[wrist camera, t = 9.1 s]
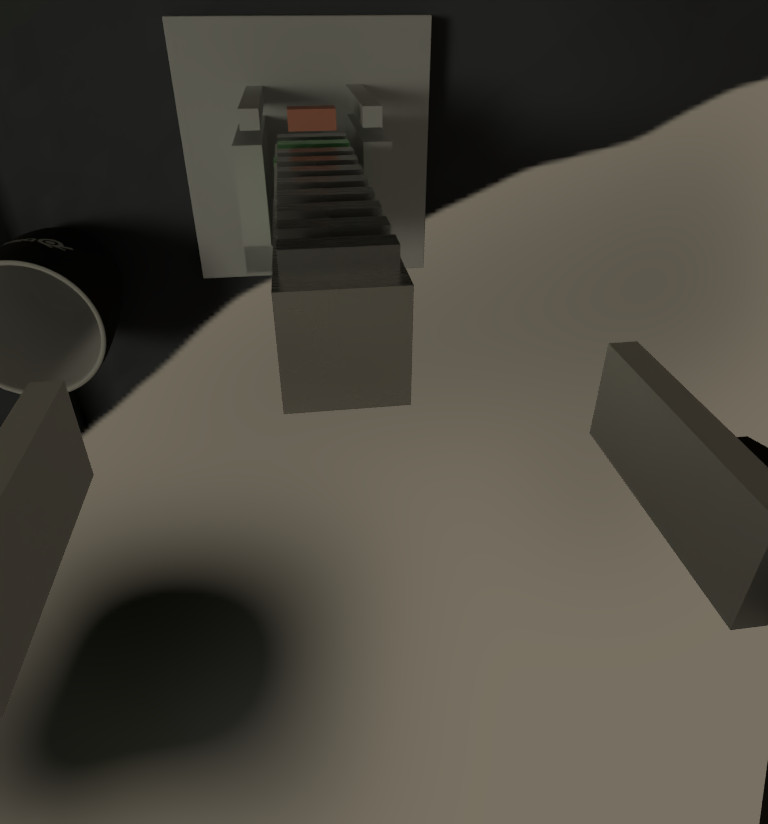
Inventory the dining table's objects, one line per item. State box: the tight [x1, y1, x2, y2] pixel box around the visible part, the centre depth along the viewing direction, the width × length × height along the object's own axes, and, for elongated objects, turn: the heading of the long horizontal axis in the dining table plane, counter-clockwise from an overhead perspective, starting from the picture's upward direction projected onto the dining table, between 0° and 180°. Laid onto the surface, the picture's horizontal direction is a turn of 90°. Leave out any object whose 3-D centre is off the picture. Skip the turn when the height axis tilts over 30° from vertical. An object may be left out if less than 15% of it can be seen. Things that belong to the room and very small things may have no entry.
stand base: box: [162, 15, 432, 278], centre depth 39 cm, size 16×16×13 cm
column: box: [272, 132, 414, 414], centre depth 28 cm, size 5×4×22 cm
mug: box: [0, 228, 122, 394], centre depth 43 cm, size 12×9×10 cm
